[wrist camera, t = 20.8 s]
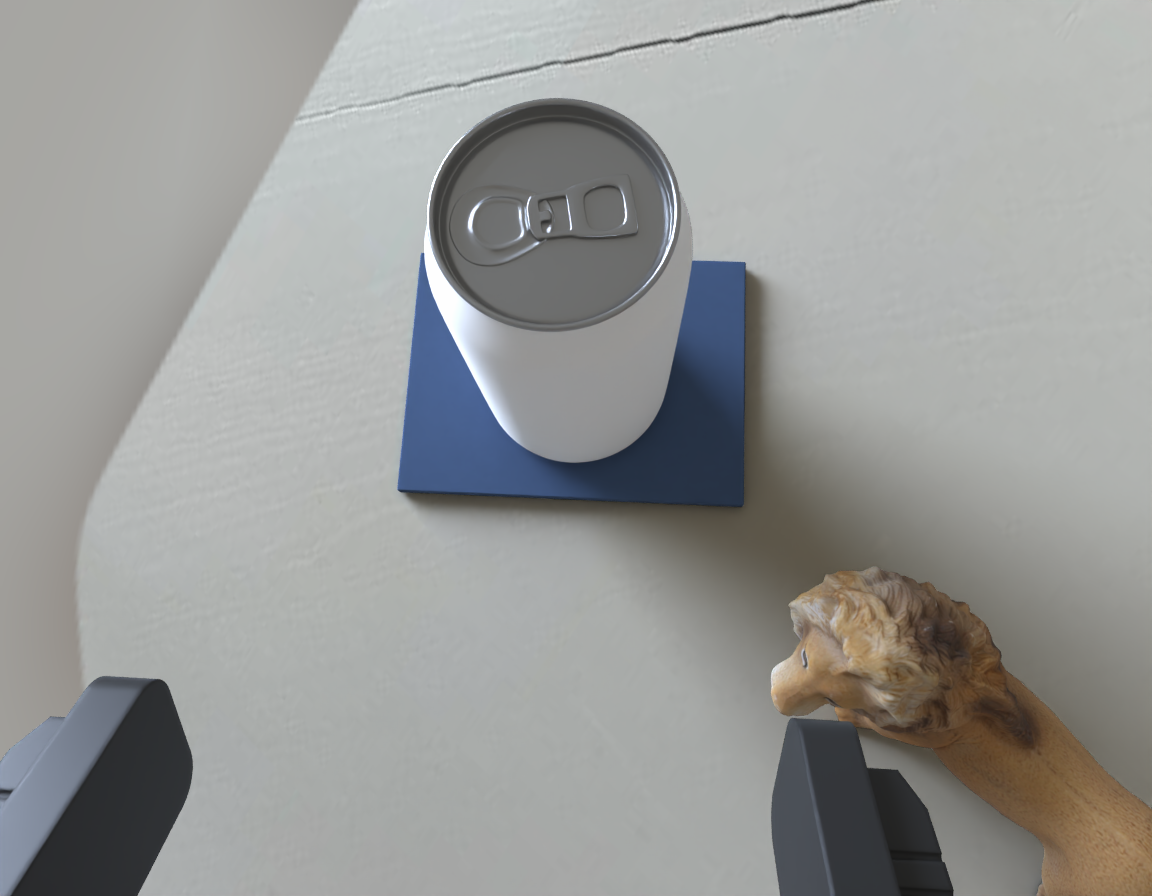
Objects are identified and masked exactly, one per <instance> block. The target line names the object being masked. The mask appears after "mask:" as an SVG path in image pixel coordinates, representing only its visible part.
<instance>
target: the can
mask: <svg viewBox="0 0 1152 896" xmlns="http://www.w3.org/2000/svg"><path fill="white" fill-rule="evenodd" d="M424 253H425V265H426V271H427V276H428V280H429V284H430V287H431V291H432V293H433V296H434V299H435V301H436V303H437V306H438V308H439V310H440V312H441V314H442V316H443V318H444V320H445V322H446V324H447V327H448V329H449V331H450V332H451V334H452V336H453V338H454V340H455V342H456V344H457V346H458V348H459V350H460V352H461V354H462V356H463V358H464V360H465V361H466V363H467V365H468V367H469V369H470V371H471V373H472V375H473V377H474V379H475V381H476V383H477V384H478V386H479V388H480V390H481V392H482V394H483V396H484V398H485V400H486V401H487V403H488V405H489V407H490V409H491V411H492V412H493V414H494V416H495V418H496V419H497V421H498V422H499V424H500V425H501V427H502V428H503V429H504V430H505V431H506V433H507V434H508V435H509V436H510V437H511V438H512V439H513V440H515V441H516V442H517V443H518V444H520V445H521V446H522V447H524V448H525V449H527V450H529V451H531V452H532V453H534V454H537V455H539V456H542V457H544V458H547V459H551V460H555V461H560V462H570V463H579V462H589V461H595V460H599V459H602V458H606V457H608V456H611V455H613V454H615V453H618V452H619V451H621V450H623V449H625V448H626V447H628V446H629V445H631V444H632V443H633V442H635V441H636V440H637V439H638V438H639V437H640V436H641V435H642V434H643V433H644V432H645V431H646V430H647V428H648V427H649V426H650V425H651V423H652V422H653V420H654V419H655V417H656V415H657V413H658V411H659V409H660V407H661V405H662V402H663V399H664V396H665V393H666V389H667V385H668V380H669V376H670V371H671V367H672V362H673V358H674V353H675V348H676V344H677V339H678V334H679V329H680V325H681V320H682V315H683V310H684V305H685V300H686V295H687V290H688V284H689V279H690V272H691V265H692V255H693V241H692V228H691V222H690V217H689V213H688V210H687V207H686V204H685V201H684V199H683V197H682V194H681V193H680V191H679V187H678V183H677V180H676V177H675V174H674V172H673V169H672V167H671V165H670V163H669V161H668V159H667V157H666V156H665V154H664V153H663V151H662V150H661V148H660V147H659V146H658V144H657V143H656V142H655V141H654V140H653V138H652V137H651V136H650V135H649V134H648V133H647V132H646V131H644V130H643V129H642V128H641V127H640V126H639V125H637V124H636V123H635V122H633V121H632V120H630V119H629V118H627V117H625V116H624V115H622V114H620V113H618V112H616V111H614V110H612V109H609V108H607V107H604V106H602V105H599V104H595V103H592V102H587V101H582V100H576V99H566V98H549V99H539V100H533V101H528V102H524V103H520V104H516V105H513V106H510V107H508V108H505V109H503V110H501V111H498V112H496V113H494V114H492V115H491V116H489V117H487V118H485V119H484V120H482V121H481V122H479V123H478V124H476V125H475V126H474V127H472V128H471V129H470V130H469V131H468V132H467V133H465V134H464V135H463V136H462V137H461V138H460V139H459V140H458V141H457V143H456V144H455V145H454V146H453V147H452V149H451V150H450V151H449V153H448V154H447V155H446V157H445V158H444V160H443V162H442V163H441V165H440V167H439V169H438V171H437V173H436V176H435V178H434V181H433V184H432V187H431V190H430V194H429V200H428V206H427V228H426V234H425V246H424Z"/></svg>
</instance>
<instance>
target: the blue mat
mask: <svg viewBox="0 0 1152 896" xmlns="http://www.w3.org/2000/svg"><path fill="white" fill-rule="evenodd" d="M745 268H746V263H745V262H721V261H692V265H691V272H690V279H689V284H688V290H687V295H686V300H685V305H684V310H683V315H682V320H681V325H680V329H679V334H678V339H677V344H676V348H675V353H674V358H673V362H672V367H671V371H670V376H669V380H668V385H667V389H666V393H665V396H664V399H663V402H662V405H661V407H660V409H659V411H658V413H657V415H656V417H655V419H654V420H653V422H652V423H651V425H650V426H649V427H648V428H647V430H646V431H645V432H644V433H643V434H642V435H641V436H640V437H639V438H638V439H637V440H636V441H635V442H633V443H632V444H631V445H629V446H628V447H626V448H625V449H623V450H621V451H619V452H618V453H615V454H613V455H611V456H608V457H606V458H602V459H599V460H595V461H589V462H579V463H570V462H560V461H555V460H551V459H547V458H544V457H542V456H539V455H537V454H534V453H532V452H531V451H529V450H527V449H525V448H524V447H522V446H521V445H520V444H518V443H517V442H516V441H515V440H513V439H512V438H511V437H510V436H509V435H508V434H507V433H506V431H505V430H504V429H503V428H502V427H501V425H500V424H499V422H498V421H497V419H496V418H495V416H494V414H493V412H492V411H491V409H490V407H489V405H488V403H487V401H486V400H485V398H484V396H483V394H482V392H481V390H480V388H479V386H478V384H477V383H476V381H475V379H474V377H473V375H472V373H471V371H470V369H469V367H468V365H467V363H466V361H465V360H464V358H463V356H462V354H461V352H460V350H459V348H458V346H457V344H456V342H455V340H454V338H453V336H452V334H451V332H450V331H449V329H448V327H447V324H446V322H445V320H444V318H443V316H442V314H441V312H440V310H439V308H438V306H437V303H436V301H435V299H434V296H433V293H432V291H431V287H430V284H429V280H428V276H427V271H426V265H425V253H421V258H420V268H419V278H418V288H417V299H416V309H415V319H414V329H413V339H412V349H411V359H410V369H409V379H408V389H407V399H406V409H405V419H404V429H403V439H402V449H401V459H400V469H399V479H398V491H400V492H410V493H433V494H456V495H479V496H502V497H524V498H547V499H570V500H593V501H616V502H639V503H662V504H685V505H708V506H730V507H742V506H743V505H744V409H745Z"/></svg>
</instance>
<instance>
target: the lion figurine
mask: <svg viewBox="0 0 1152 896" xmlns="http://www.w3.org/2000/svg"><path fill="white" fill-rule="evenodd" d="M789 607H790V608H791V618H792V620H793V621H794V631H795V633H796V635H797V636H798V637H799V638H800V643H799V645H798V646H797V648H796V650H795V651H794V653H793V655H792V656H790V657H789V658H788V659H787V660H785V661H783V662H781V663H780V664H778V665H777V666H775V667H774V669H773V670H772V674H771V684H772V689H771V696H772V699H773V703H774V705H775V707H776V709H777V710H778V711H779V712H780V713H781V714H783V715H786V716H792V715H794V716H804V715H808V714H810V713H811V712H813V711H814V710H816V709H818V708H819V707H821V706H823V705H824V704H831V705H833V706H835V712H836V714H837V716H838V720H839V721H849V722H852V723H853V725H854V726H855V727H861V728H868V729H873V730H875V731H876V732H878V733H879V734H881V735H882V736H884V737H887V738H891V739H897V740H899V741H902V742H905V743H908V744H911V745H916V746H920V747H925V748H932V749H933V750H934V752H935V753H936V755H937V756H938V757H939V759H940V760H941V761H942V762H943V763H944V764H945V766H946V767H947V768H948V769H949V770H950V771H951V772H952V773H953V774H954V775H955V776H956V777H957V778H958V779H959V780H960V781H962V782H963V783H964V784H965V785H966V786H967V787H968V788H969V789H970V790H972V791H973V792H974V793H975V794H977V795H978V796H979V797H981V798H982V799H983V800H985V801H986V802H988V803H989V804H990V805H992V806H993V807H994V808H995V809H996V810H998V811H999V812H1000V813H1001V814H1002V815H1004V816H1005V817H1007V818H1008V819H1010V820H1012V821H1013V822H1015V823H1016V824H1018V825H1019V826H1021V827H1023V828H1024V829H1026V830H1028V831H1030V832H1031V833H1032V834H1034V835H1035V836H1036V837H1037V838H1038V839H1039V840H1040V841H1041V843H1042V844H1043V847H1044V859H1043V864H1042V881H1043V883H1042V884H1041V885H1039V887H1038V892H1037V895H1036V896H1152V809H1151V808H1150V807H1149V806H1148V805H1146V804H1145V803H1144V802H1142V801H1141V800H1140V799H1139V798H1137V797H1136V796H1135V795H1133V794H1132V793H1130V792H1129V791H1127V790H1126V789H1125V788H1124V787H1123V786H1122V785H1120V784H1119V783H1118V782H1117V781H1116V780H1115V779H1114V778H1113V777H1111V776H1110V775H1109V774H1108V773H1107V772H1106V771H1105V770H1104V769H1103V768H1102V767H1101V766H1100V765H1099V764H1098V763H1097V761H1096V760H1095V759H1094V758H1093V757H1092V756H1091V755H1090V753H1089V752H1088V751H1087V750H1086V749H1085V748H1084V747H1083V746H1082V744H1081V743H1080V742H1079V741H1078V740H1077V739H1076V738H1075V737H1074V735H1073V734H1072V733H1071V732H1070V731H1069V730H1068V729H1067V728H1066V727H1065V725H1064V724H1063V723H1062V722H1061V721H1060V720H1059V719H1058V717H1057V716H1056V715H1055V714H1054V713H1053V712H1052V711H1051V710H1050V709H1049V708H1048V707H1047V706H1046V705H1045V704H1044V703H1043V702H1042V701H1041V700H1040V699H1039V698H1038V697H1036V696H1035V695H1034V694H1033V693H1032V692H1031V691H1030V690H1029V689H1028V688H1027V687H1026V686H1025V685H1023V684H1022V683H1021V682H1020V681H1019V680H1018V679H1016V678H1015V677H1014V676H1012V675H1011V674H1010V673H1009V672H1007V671H1006V670H1005V668H1004V667H1003V665H1002V663H1001V661H1000V660H1001V656H1002V655H1001V652H1000V650H999V649H998V648H997V647H996V646H995V645H994V643H993V641H992V637H991V635H990V632H989V630H988V628H987V626H986V625H985V623H984V622H983V621H982V620H980V619H979V618H978V617H977V616H976V615H974V614H973V613H971V612H970V609H969V605H968V604H966V603H965V602H956V601H954V600H951V599H950V597H949V596H947V595H946V594H944V593H941V592H939V591H937V590H936V589H935V587H934V586H933V585H932V584H931V583H929V582H925V583H921V584H919V583H917V582H916V581H915V580H913V579H911V578H908V577H906V576H900V575H899V574H898V573H894V572H887V571H883V570H881V569H880V568H879V567H870V568H868V569H866V570H864V571H862V572H860V571H854V570H853V571H838V572H836V573H835V574H826V575H825V578H824V581H823V583H822V584H820V585H817V586H815V587H813V588H812V589H811V590H809V591H808V592H805V593H802V594H800V595H799V596H798V598H797V599H795V600H794V601H792V602H791V603H790V604H789Z"/></svg>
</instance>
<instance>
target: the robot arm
mask: <svg viewBox="0 0 1152 896" xmlns="http://www.w3.org/2000/svg"><path fill="white" fill-rule="evenodd" d="M192 770H193V761H192V755H191V751H190V748H189V745H188V742H187V739H186V736H185V733H184V731H183V728H182V725H181V722H180V719H179V716H178V713H177V710H176V707H175V704H174V701H173V699H172V696H171V693H170V690H169V688H168V686H167V684H166V683H165V682H164V681H163V680H160V679H146V678H128V677H111V676H102V677H99V678H97V679H96V680H94V681H93V682H92V683H91V684H90V685H89V686H88V687H87V688H86V690H85V691H84V692H83V694H82V695H81V697H80V698H79V699H78V701H77V702H76V703H75V705H74V706H73V708H72V709H71V711H70V712H69V714H68V715H67V716H66V717H49V718H48V719H47V720H46V721H45V722H43V723H42V724H41V725H39V726H38V727H37V728H36V729H34V730H33V731H32V732H31V733H29V734H28V735H27V736H26V737H24V738H23V739H22V740H20V741H19V742H18V743H17V744H16V745H14V746H13V747H12V748H11V749H9V751H8V752H7V753H6V755H5V756H4V757H3V759H2V760H1V761H0V896H137V895H138V893H139V891H140V889H141V887H142V885H143V884H144V882H145V880H146V878H147V876H148V874H149V872H150V870H151V868H152V866H153V864H154V862H155V860H156V858H157V856H158V854H159V852H160V850H161V848H162V846H163V844H164V842H165V840H166V839H167V837H168V835H169V833H170V831H171V829H172V827H173V825H174V823H175V821H176V819H177V817H178V815H179V813H180V811H181V809H182V807H183V805H184V803H185V801H186V798H187V795H188V792H189V789H190V784H191V779H192ZM771 823H772V839H773V848H774V855H775V862H776V869H777V875H778V882H779V889H780V896H953V891H954V890H953V887H952V884H951V881H950V877H949V874H948V871H947V868H946V865H945V862H942V858H941V854H942V853H941V850H940V847H939V843H938V840H937V837H936V834H935V831H934V828H933V825H932V822H931V819H930V816H929V813H928V809H927V808H926V807H925V805H924V804H923V803H922V801H921V800H920V799H919V797H918V796H917V795H916V793H915V792H914V791H913V789H912V788H911V787H910V786H909V784H908V783H907V782H906V780H905V779H904V778H903V776H902V775H901V774H900V772H899V771H898V770H891V769H874V768H867V766H866V762H865V759H864V755H863V751H862V747H861V744H860V740H859V736H858V733H857V731H856V728H855V726H854V725H853V723H852V722H849V721H833V720H816V719H798V718H791V719H790V720H789V722H788V725H787V729H786V734H785V739H784V743H783V748H782V753H781V757H780V762H779V767H778V771H777V776H776V781H775V785H774V790H773V796H772V810H771Z"/></svg>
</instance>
